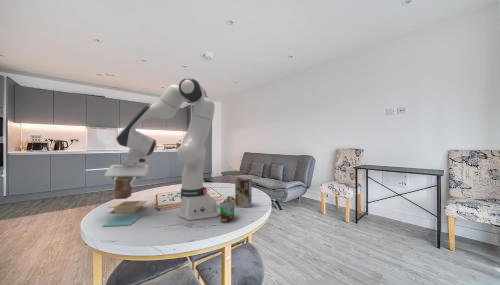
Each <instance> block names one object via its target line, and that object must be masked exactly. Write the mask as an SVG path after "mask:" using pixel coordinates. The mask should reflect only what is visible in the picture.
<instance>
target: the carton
mask: <svg viewBox="0 0 500 285" xmlns="http://www.w3.org/2000/svg"><path fill="white" fill-rule="evenodd" d="M147 202H148V200H124V201H123V200H122V201H117V202H115V203H113V204H111V205H110V206H108V209H111V208H112V209H113V214H134V213H137V211H138V210H140V209H142V207H143V205H145V204H146V203H147Z"/></svg>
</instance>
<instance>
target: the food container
mask: <svg viewBox="0 0 500 285" xmlns="http://www.w3.org/2000/svg"><path fill="white" fill-rule="evenodd" d="M235 204H236V200H235V197H233V196H229V195H228V196H226V198H225V199H224V200H223V202H220V203H219V207H220V223H221V224H222V223H223V224H225V223H230V222H232V221H233V220H234V217H235V207H236V206H235Z"/></svg>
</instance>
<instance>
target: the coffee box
mask: <svg viewBox="0 0 500 285" xmlns="http://www.w3.org/2000/svg"><path fill="white" fill-rule="evenodd" d="M252 181H253V180H252V179H251V178H239V177H238V178H237V179H235V181H234V183H235V184H234V186H235V188H234V191H235V193H234V194H235V197H234V198H235V200H236V204H235V207H238V206H241V208H248V207H249V208H250V207H251V206H252V205H253V204H252V203H253V202H252V195H253V194H252V190H253V189H252ZM251 204H252V205H251Z"/></svg>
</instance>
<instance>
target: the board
mask: <svg viewBox="0 0 500 285" xmlns="http://www.w3.org/2000/svg"><path fill="white" fill-rule="evenodd" d="M141 217H142V214H127V215H126V214H123V215H116V216H115V217H113V218H112V219H110V220H109V221H107V222H106V223H104V224H103V225H102V228H105V227H106V228H107V227H111V228H112V227H126V226H129V227H130V226H132V225H133V224H134V223H136V221H138V220H139V219H140V218H141Z"/></svg>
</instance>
